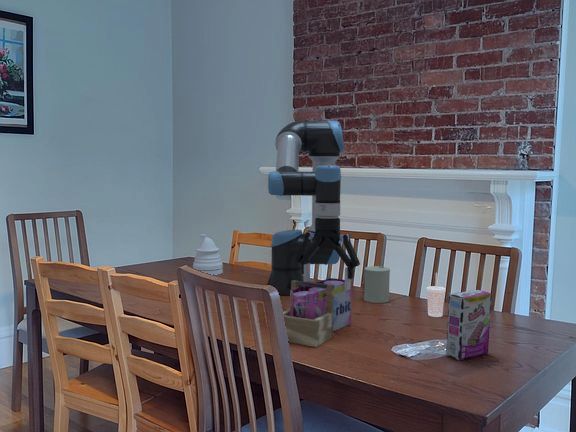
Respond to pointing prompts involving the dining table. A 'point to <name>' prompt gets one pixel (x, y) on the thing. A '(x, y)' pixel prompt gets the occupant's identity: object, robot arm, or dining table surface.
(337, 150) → the robot arm
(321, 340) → the dispenser
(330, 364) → the dining table surface
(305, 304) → the gum box
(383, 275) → the can
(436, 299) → the beverage cup
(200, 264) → the honey pot
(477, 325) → the candy bar box
